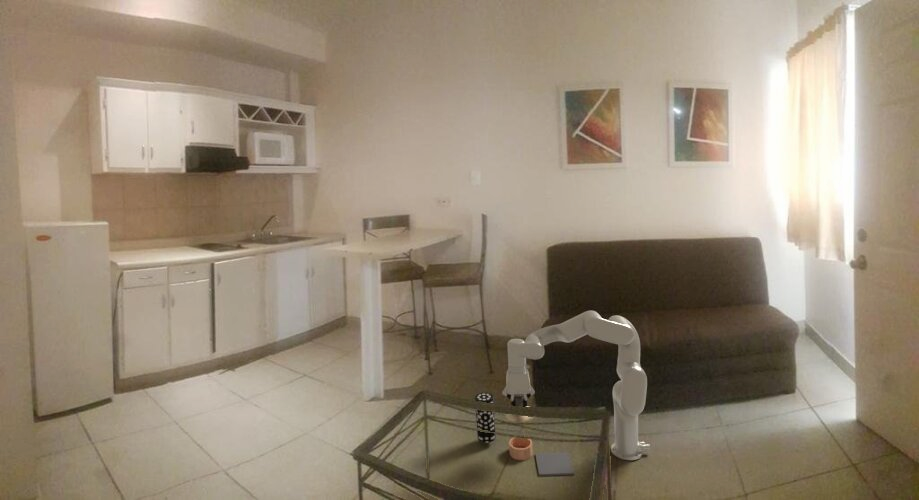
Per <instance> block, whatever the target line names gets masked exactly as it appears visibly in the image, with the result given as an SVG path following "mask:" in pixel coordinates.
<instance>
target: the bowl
mask: <svg viewBox="0 0 919 500" xmlns="http://www.w3.org/2000/svg"><path fill="white" fill-rule="evenodd" d="M514 437H515V436H514ZM514 437H511V438H510V439H509V440H508V447H509V456H510V457H511V458H512V459H513V460H518V461H526V460H530V459H531V458H532V456H533V455H534V450H533V440H532V439H531V438H529V439H523V438H514Z"/></svg>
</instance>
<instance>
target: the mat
mask: <svg viewBox="0 0 919 500" xmlns="http://www.w3.org/2000/svg"><path fill="white" fill-rule="evenodd" d="M534 454H535V460H536V465H537V471H538V476H539V477H545V476H547V477H549V476H573V475H574V476H575V470H574V468H573V465H572V462H571V458H570V455H569V452H568V451H563V452H562V451H560V452H557V451H556V452H535V453H534Z"/></svg>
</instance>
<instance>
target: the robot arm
mask: <svg viewBox="0 0 919 500" xmlns="http://www.w3.org/2000/svg"><path fill="white" fill-rule="evenodd" d="M587 335H588V336H589V337H591V338H593V339H595V340H600V341H603V342H606V343H607V342H608V343H610V344H615V345H618V350H617V352H618V353H617V363H616V373H617V375H618V378H619V379H620V380H618V381H617V382H615V384H614V385H613V388H612V401H613V413H614V414H613V415H614V417H613V419H614V421H613V424H614V425H613V426H614V431H613V432H614V443H612V444H611V446H610V451H611V453H612V454H613V455H614V456H615V457H616V458H618V459H621V460H624V461H635V460H636V461H637V460H639V459H641V458H642V457H643V450H651V446H650V443H649V444H648V443H647V444H646V443H645V441H639V415H640V414H641V413H642V412H643V411H644V408H645V406H646V399H647V392H648V391H647V390H648V389H647V388H648V377H647V374H646V372H645V370H644V369H643V368H642V367H641V366H642V365H641V340H640V337H639V334H638V331H637V330H636V328H635V327H634V325H633V324H632V323H631V322H630V320H628V319H627V318H626V317H624V316H621V315H617V314H616V315H612V316H610V317H609V318H608V319H605V318H602V316H601V315H600V314H599V313H598V312H597V311H596V310H586V311H584V312H582V313H580V314H578V315H576V316H573V317H572V318H570V319H568V320H566V321H563V322H561V323H559V324H553V325H547V326H545V327H542V328H540V329H537V330H536V331H533V332H531V333H530V334H529V335H528V336H526V338H525V340H524V339H522V338H511V339H510V340H508V341H507V344H506V346H507V362H508V364H507V366H508V369H506V377H505V380H506V381H505V387H504V389H503V390H502V395H503V396H505V397H507V398H508V399H509V400H510V403H511V405H513V406H515V401H514V396H516V395H523V397H524V407H527V406H528V400H529V398H530V397H531V396H533V395H535V393H536V391H535V389H534V388H533V386H532V385H531V379H530V374H529V373H530V372H529V369H530V368H531V366H530V364H527V359H529V360H540V359H542V358H543V357H544V356H545V347H544V346H547V345H549V344H551V343H554V342H564V343H572V342H575V341H576V340H578V339H580V338H583V337H584V336H587ZM511 405H510V406H511Z"/></svg>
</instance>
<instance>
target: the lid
mask: <svg viewBox="0 0 919 500" xmlns="http://www.w3.org/2000/svg"><path fill="white" fill-rule="evenodd" d="M514 401H515V406H521V407H524V395H523V394H517V395H514ZM527 407H530V406H528V405H527ZM504 417H505V418H506V420H508V421H509V422H513V423H526V422H529V421H532V420H533V419H534V418H535V416H534V417H528V416H520V415H512V414H505V413H504Z"/></svg>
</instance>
